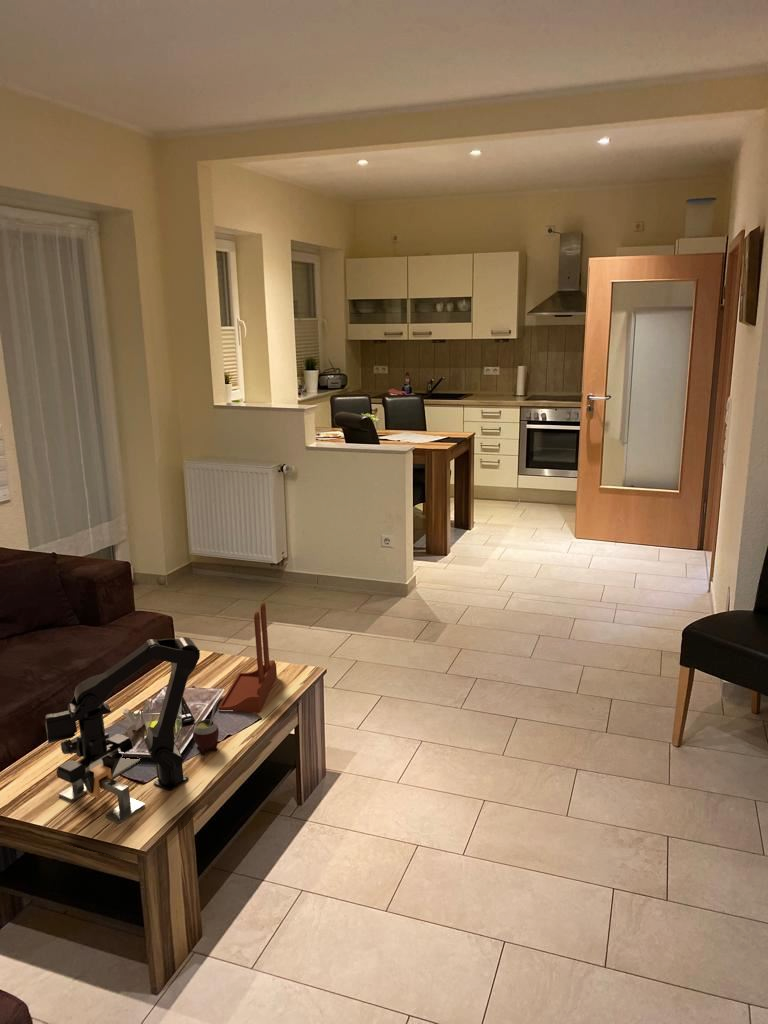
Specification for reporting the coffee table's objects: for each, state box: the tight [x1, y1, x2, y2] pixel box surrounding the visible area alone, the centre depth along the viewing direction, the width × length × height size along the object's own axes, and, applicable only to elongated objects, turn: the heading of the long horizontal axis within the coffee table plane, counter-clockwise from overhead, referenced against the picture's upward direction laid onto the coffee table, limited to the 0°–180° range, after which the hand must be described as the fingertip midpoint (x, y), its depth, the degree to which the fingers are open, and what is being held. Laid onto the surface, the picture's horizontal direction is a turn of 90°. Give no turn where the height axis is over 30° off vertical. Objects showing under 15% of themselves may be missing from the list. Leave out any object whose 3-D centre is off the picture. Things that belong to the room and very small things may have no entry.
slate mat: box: [89, 758, 141, 779], centre depth 212 cm, size 14×12×1 cm
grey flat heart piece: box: [122, 708, 141, 726], centre depth 230 cm, size 7×2×8 cm, turn 160°
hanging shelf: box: [217, 602, 278, 713], centre depth 248 cm, size 24×13×30 cm, turn 175°
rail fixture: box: [58, 776, 146, 825], centre depth 195 cm, size 23×8×7 cm, turn 58°
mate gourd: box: [192, 695, 224, 756], centre depth 217 cm, size 8×8×15 cm
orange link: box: [86, 764, 113, 799], centre depth 195 cm, size 4×5×6 cm
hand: (99, 787), depth 195 cm, fingers closed on orange link, 5 cm apart
